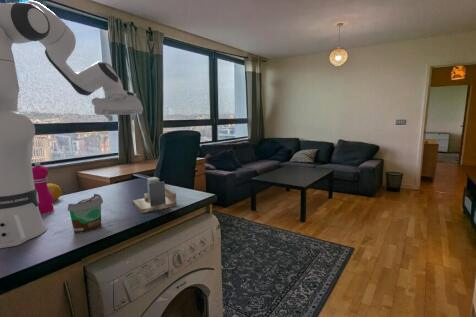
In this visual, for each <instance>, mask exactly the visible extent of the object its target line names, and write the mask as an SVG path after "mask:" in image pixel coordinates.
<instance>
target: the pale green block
mask: <svg viewBox="0 0 476 317" xmlns="http://www.w3.org/2000/svg"><path fill="white" fill-rule="evenodd" d="M146 181H147V182H146V183H147V184H146V185H147V193H148V200H149V202H150V197H149V184H150V183H157V182H160V178H158V177H156V176H152V177H147V178H146Z"/></svg>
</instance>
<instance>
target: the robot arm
mask: <svg viewBox="0 0 476 317" xmlns="http://www.w3.org/2000/svg"><path fill="white" fill-rule="evenodd" d="M31 42H39V43H40V44H41V45H42V46H43V47H44V48H45V50H44V53H45V54H44V55H45V56H46V58H47V60H48V61H49V62H50V64H51V65H52V66H53V68H55V69H56V71H58V73H59V74H60V75H61V76H62V77H63V78H64V79H65V80H66V81H67V82H68V84H70V86H71V87H72V89H74V91H75V92H76V93H77V94H79V95H81V96H90V95H92V94H93V93H95V92H96V91H97V90H100V88H102V90H103V92H104V97H94V98H92V99H91V103H92V105H93V108H94V114H95V115H97V116H104V117H105V118H106V119H107V120H108V122H113V120H114V119H113V116H115V115H117V116H119V115H120V116H121V115H122V116H123V115H125V116H126V115H130V119H131V121H136V116H137V115H142V114H143V111H144V107H143V104H142V102H141V100H140V99H139V97H138V98H137V93H135V92H132V91H128V90H124V86H123V82H122V80H121V78H120V77H119V75H118V73H117V72H116V70H115V69H114V67H112V66H111V64H109V63H107V62H104V61H103V60H102V61H101V60H98V61H96V62H94V63H93V64H91V65H89V66H88V67H86V68H84V69H82V70H80V71H77V72H76V71H74V70H73V68H72V67H71V66H70V65H69V64H68V63H67V60H68V59H69V57H70V56H71V55H72V54H73V53H74V51H75V48H76V42H77V41H76V35H75V32H73V30H71V28H70V27H69V26H68V25H67V24H66V23H65V22H64V21H63V20H62V19H61V18H60V17H58V16H57V15H56V14H55V13H54V12H53V11H52V10H50V9H49V8H47V7H46V6H45V5H44V4H41V3H40V2H38V1H35V0H26V1H25V2H24V1H18V2H9V3H7V2H5V3H4V2H0V249H4V248H5V249H6V248H11V247H15V246H19V245H21V244H23V243H26V242H27V241H29V240H30V239H33V238H36V237H38V236H40V235H42V234H43V233H45V231H47V228H48V227H47V226H46V224H45V222H44V220H43V218H42V214H40V211H39V207H38V205H39V199H38V192H37V189H36V188H35V186H34V179H33V172H32V167H33V165H32V163H33V162H32V161H33V159H32V158H33V150H34V149H33V146H34V144H33V143H34V137H35V135H36V127H35V125H34V122H33V121H32V119H30V118H29V117H28V116H26V115H25V114H23V113H21V112H19V111H18V104H19V100H18V98H19V93H20V86H19V80H18V79H19V78H18V73H17V68H16V62H15V58H14V53H13V50H12V46H13V44H25V43H31Z"/></svg>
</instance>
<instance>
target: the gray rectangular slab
mask: <svg viewBox="0 0 476 317" xmlns="http://www.w3.org/2000/svg"><path fill="white" fill-rule="evenodd" d="M165 187H166V186H165V181H159V182H157V183H150V184H149V197H150V206H156V205H161V204H166V199H165Z"/></svg>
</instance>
